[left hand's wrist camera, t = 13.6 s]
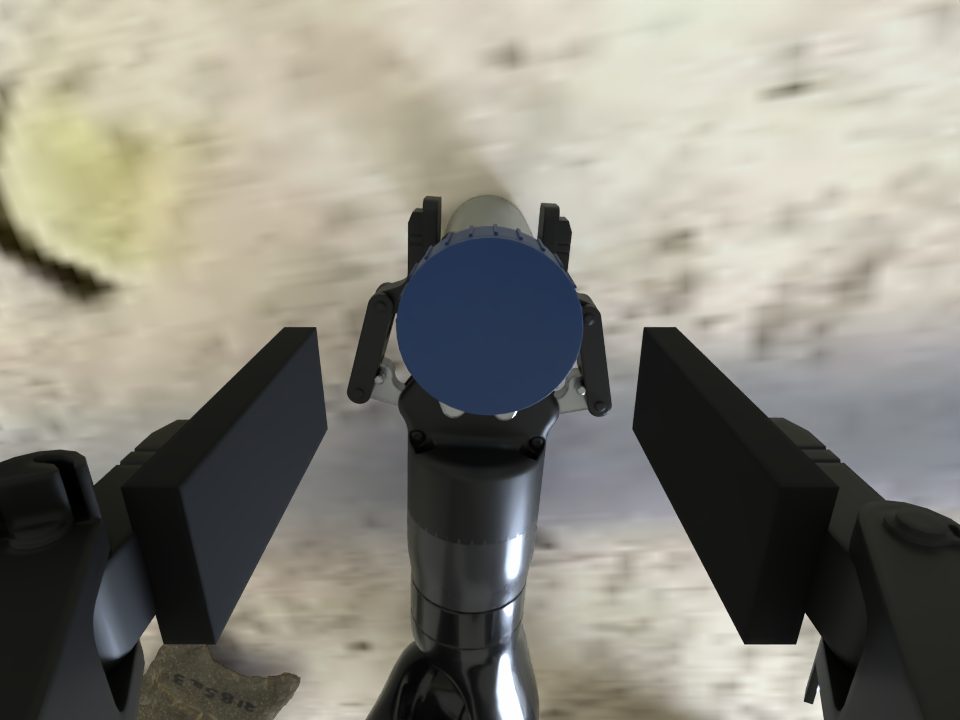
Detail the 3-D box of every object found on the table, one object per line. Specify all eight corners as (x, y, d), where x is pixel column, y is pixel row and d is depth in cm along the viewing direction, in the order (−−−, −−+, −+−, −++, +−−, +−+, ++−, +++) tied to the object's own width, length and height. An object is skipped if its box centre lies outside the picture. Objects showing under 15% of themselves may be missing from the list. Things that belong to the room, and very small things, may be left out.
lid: (480, 185, 18) (480, 192, 16) (609, 302, 19) (625, 323, 17) (370, 317, 19) (355, 340, 17) (496, 416, 21) (497, 449, 19)
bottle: (483, 176, 32) (481, 215, 16) (545, 233, 33) (599, 320, 17) (429, 241, 33) (380, 334, 18) (491, 294, 34) (495, 424, 19)
